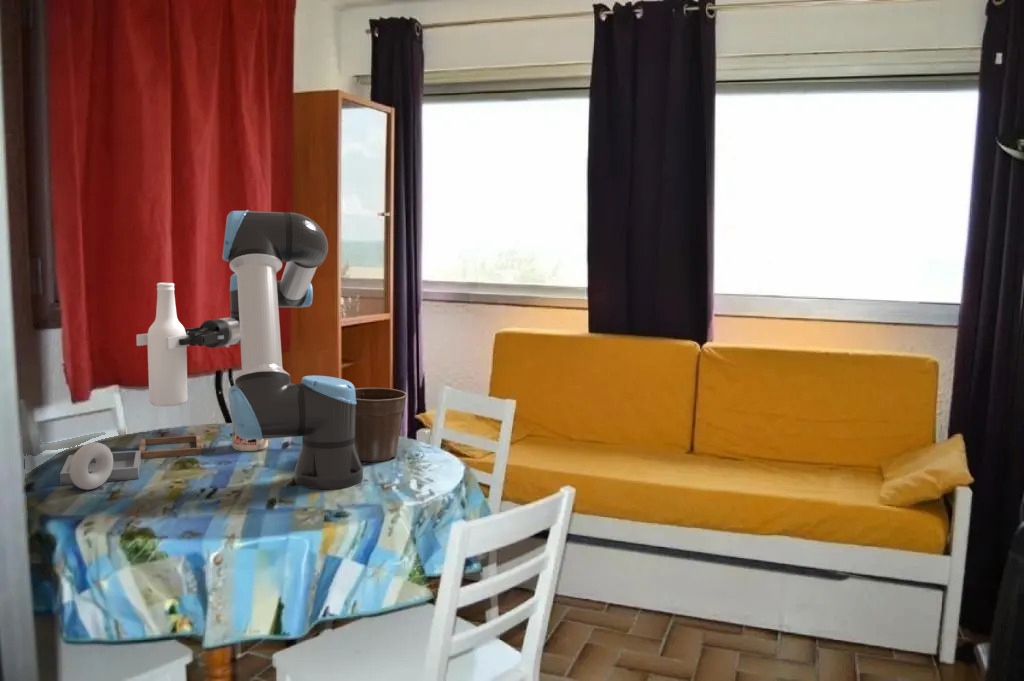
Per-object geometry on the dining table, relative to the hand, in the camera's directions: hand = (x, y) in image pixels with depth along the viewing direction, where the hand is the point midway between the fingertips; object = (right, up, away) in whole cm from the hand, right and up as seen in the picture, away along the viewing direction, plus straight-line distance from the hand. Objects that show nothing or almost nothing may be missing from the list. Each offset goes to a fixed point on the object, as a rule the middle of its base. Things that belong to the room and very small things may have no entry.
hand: (152, 341), depth 188 cm
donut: (-2, -31, -23) cm, 39 cm away
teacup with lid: (+21, -28, +12) cm, 37 cm away
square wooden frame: (+1, -27, +8) cm, 28 cm away
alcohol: (+1, -16, +6) cm, 17 cm away
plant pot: (+52, -29, +8) cm, 60 cm away
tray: (-6, -30, -12) cm, 32 cm away
